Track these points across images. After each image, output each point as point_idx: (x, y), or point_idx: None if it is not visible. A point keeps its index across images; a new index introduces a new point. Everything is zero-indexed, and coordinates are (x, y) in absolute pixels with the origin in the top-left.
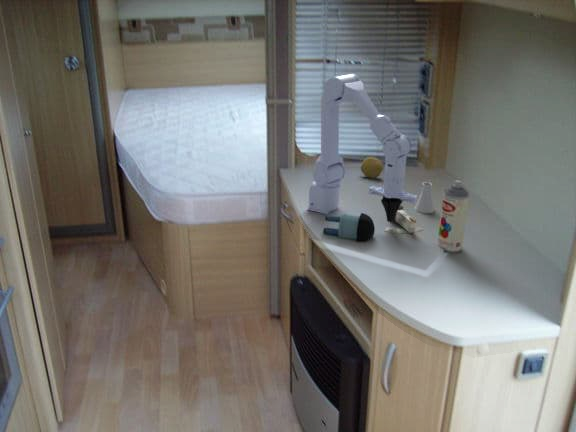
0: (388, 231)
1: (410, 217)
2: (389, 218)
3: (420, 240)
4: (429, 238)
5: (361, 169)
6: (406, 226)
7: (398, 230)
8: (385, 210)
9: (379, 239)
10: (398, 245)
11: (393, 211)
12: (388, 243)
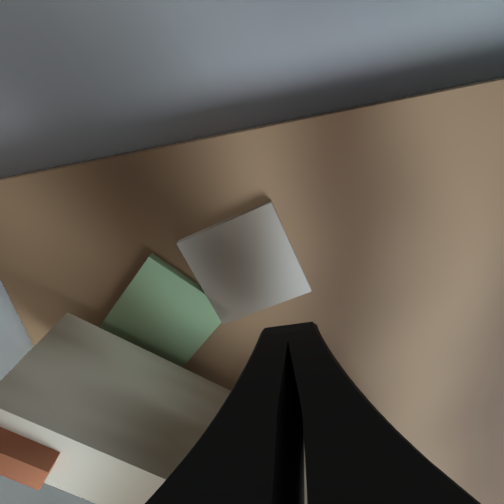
0: (239, 220)
1: (29, 470)
2: (282, 346)
3: (8, 307)
4: (2, 374)
5: None
6: (114, 364)
7: (187, 304)
8: (369, 413)
9: (246, 58)
10: (26, 80)
11: (197, 443)
12: (118, 42)
